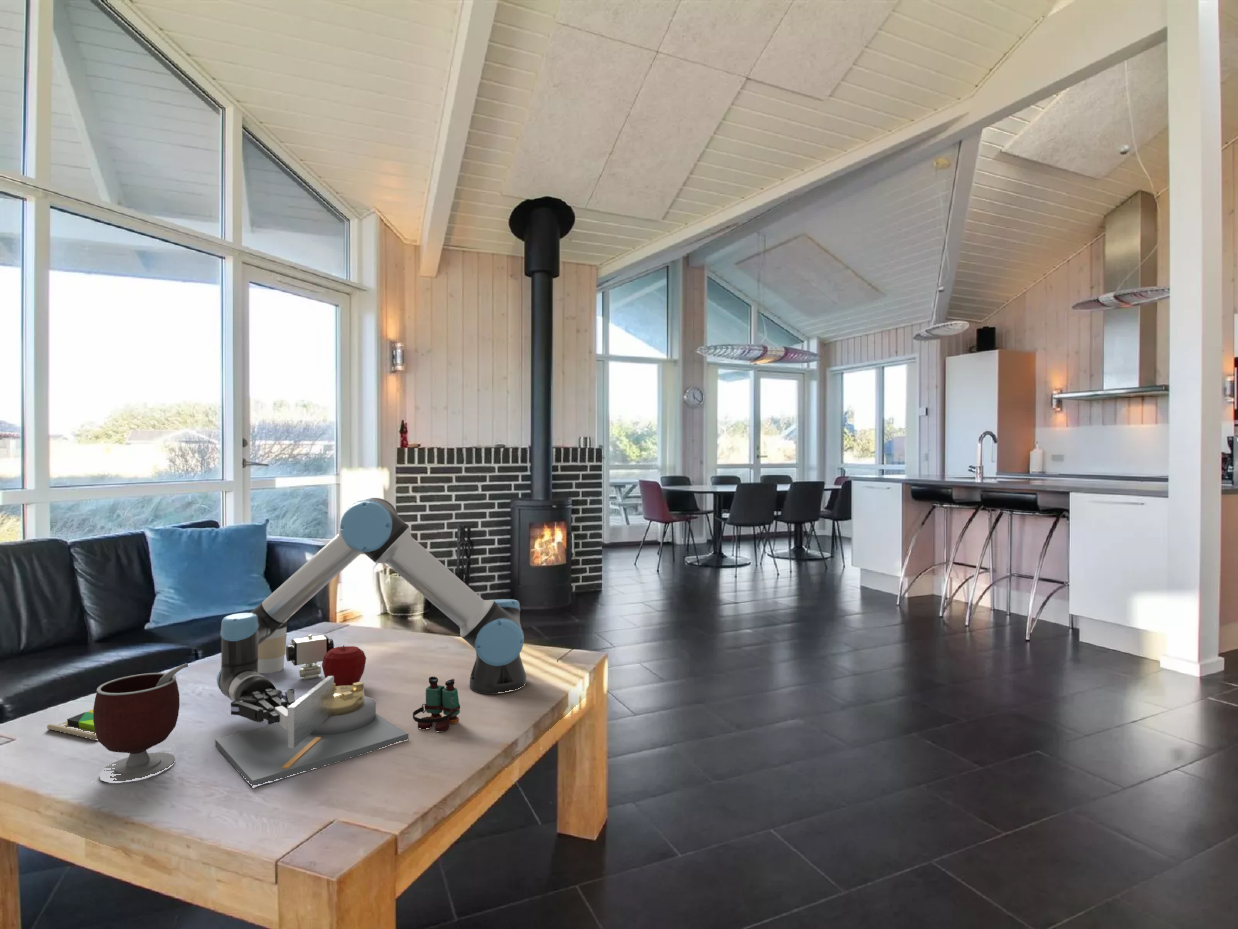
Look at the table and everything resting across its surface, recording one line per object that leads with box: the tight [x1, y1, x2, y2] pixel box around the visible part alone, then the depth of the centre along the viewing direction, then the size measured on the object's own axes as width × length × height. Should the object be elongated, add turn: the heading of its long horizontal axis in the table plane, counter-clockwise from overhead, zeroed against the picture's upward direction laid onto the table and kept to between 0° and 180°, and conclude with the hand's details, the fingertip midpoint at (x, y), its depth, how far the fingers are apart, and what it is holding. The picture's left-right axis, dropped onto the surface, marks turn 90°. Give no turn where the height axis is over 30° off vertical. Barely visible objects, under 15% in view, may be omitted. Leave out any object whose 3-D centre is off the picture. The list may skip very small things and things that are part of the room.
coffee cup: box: [258, 620, 288, 674], centre depth 197 cm, size 9×9×15 cm
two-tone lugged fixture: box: [288, 676, 365, 748], centre depth 146 cm, size 28×11×8 cm, turn 1°
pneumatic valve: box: [285, 634, 335, 681], centre depth 190 cm, size 6×12×12 cm, turn 125°
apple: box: [321, 644, 367, 686], centre depth 181 cm, size 11×11×12 cm
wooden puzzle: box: [46, 709, 97, 740], centre depth 159 cm, size 18×19×4 cm
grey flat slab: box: [214, 695, 409, 786], centre depth 146 cm, size 31×26×4 cm
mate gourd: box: [92, 662, 189, 781], centre depth 134 cm, size 16×14×20 cm
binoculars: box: [412, 676, 461, 732], centre depth 155 cm, size 9×11×10 cm
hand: (289, 721), depth 135 cm, fingers closed
